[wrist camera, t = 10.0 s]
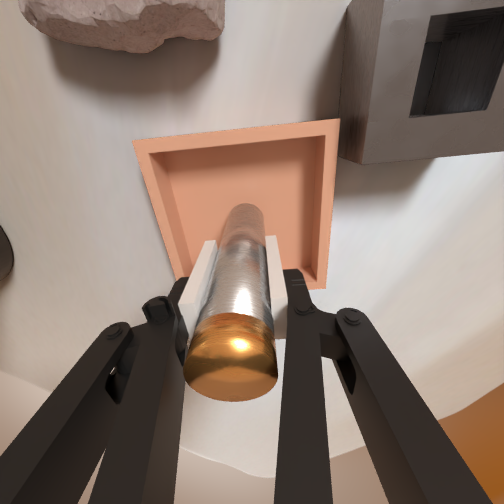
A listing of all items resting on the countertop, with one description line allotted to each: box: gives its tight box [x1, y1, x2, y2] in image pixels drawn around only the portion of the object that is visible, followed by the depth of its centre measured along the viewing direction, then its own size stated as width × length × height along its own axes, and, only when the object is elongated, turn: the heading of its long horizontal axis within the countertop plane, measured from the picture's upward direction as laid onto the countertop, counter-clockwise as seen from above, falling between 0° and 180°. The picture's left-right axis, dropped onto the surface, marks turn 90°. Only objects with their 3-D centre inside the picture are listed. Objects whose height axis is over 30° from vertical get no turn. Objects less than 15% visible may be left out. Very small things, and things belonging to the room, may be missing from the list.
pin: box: [183, 203, 278, 402], centre depth 15 cm, size 4×4×16 cm
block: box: [337, 0, 504, 165], centre depth 16 cm, size 10×10×6 cm
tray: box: [132, 118, 340, 290], centre depth 22 cm, size 16×16×4 cm
